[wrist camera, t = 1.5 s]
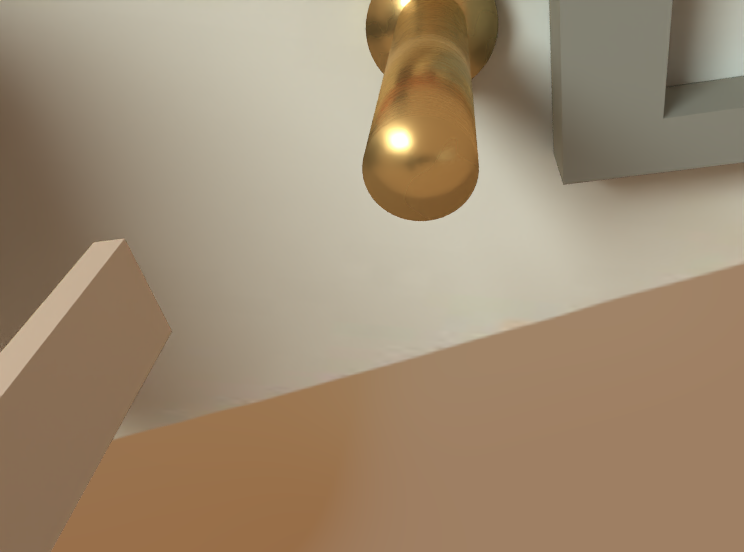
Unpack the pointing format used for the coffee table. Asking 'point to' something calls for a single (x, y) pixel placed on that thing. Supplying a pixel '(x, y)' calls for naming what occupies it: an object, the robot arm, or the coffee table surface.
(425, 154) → the brass peg
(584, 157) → the keyhole board
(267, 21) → the coffee table surface
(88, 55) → the coffee table surface
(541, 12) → the coffee table surface
